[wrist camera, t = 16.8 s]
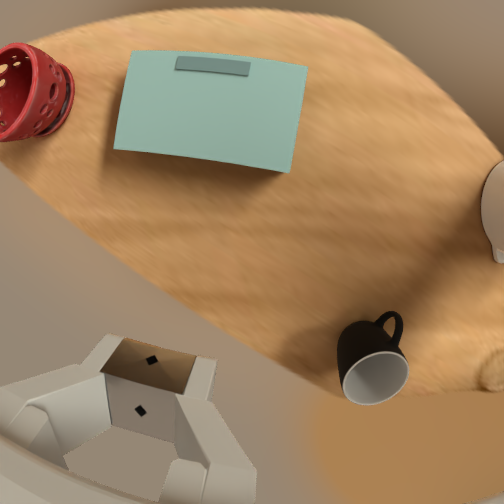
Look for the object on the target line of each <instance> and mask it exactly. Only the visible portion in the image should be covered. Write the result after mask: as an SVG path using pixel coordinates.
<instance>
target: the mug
mask: <svg viewBox="0 0 504 504" xmlns="http://www.w3.org/2000/svg"><path fill="white" fill-rule="evenodd" d="M391 317H394V318H395V331H394V334H393V336H392V338H391V337H390V336H389V335H388V333H387V332H386V331H385V330H384V329H383V325H384V323H385V322H386V321H387V320H388V319H389V318H391ZM402 332H403V321H402V318H401V316H400V315H399V314H398V313H397V312H395V311H388V312H386V313H384V314H383V315H381V316H380V317H379V318H378V319H377V320H376V321H375V322H369V321H359V322H355V323H353V324H351V325H350V326H348V327H347V328H346V329H345V330H344V331H343V333H342V334H341V336H340V338H339V341H338V347H337V361H338V370H339V377H340V382H341V386H342V390H343V393H344V394H345V396H346V397H347V399H348V400H350V401H351V402H353V403H356V404H359V405H375V404H379V403H382V402H384V401H386V400H388V399H390V398H392V397H393V396H394V395H396V394H397V393H398V392H399V391H400V390H401V389H402V388H403V386H404V385H405V383H406V381H407V379H408V376H409V365H408V362H407V360H406V358H405V356H404V354H403V353H402V351H401V350H400V348H399V347H398V345H399V342H400V339H401V336H402Z"/></svg>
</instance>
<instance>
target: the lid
mask: <svg viewBox="0 0 504 504" xmlns="http://www.w3.org/2000/svg"><path fill="white" fill-rule="evenodd" d="M307 71H308V67H307V66H302V65H297V64H292V63H286V62H280V61H274V60H268V59H261V58H254V57H246V56H238V55H229V54H218V53H206V52H190V51H152V50H150V51H132V53H131V58H130V62H129V66H128V70H127V75H126V80H125V84H124V89H123V94H122V99H121V105H120V110H119V116H118V122H117V128H116V134H115V141H114V148H113V149H120V150H131V151H141V152H151V153H160V154H169V155H177V156H185V157H192V158H200V159H207V160H214V161H220V162H227V163H233V164H240V165H246V166H252V167H257V168H263V169H269V170H274V171H280V172H285V173H290V168H291V163H292V157H293V152H294V146H295V141H296V135H297V129H298V124H299V118H300V112H301V107H302V101H303V95H304V89H305V83H306V77H307Z"/></svg>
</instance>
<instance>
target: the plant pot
mask: <svg viewBox="0 0 504 504" xmlns="http://www.w3.org/2000/svg"><path fill="white" fill-rule="evenodd" d="M13 56H16V57H13ZM25 57H29V58H25ZM16 62H21V63H20V64H19V65H17V66H14V65H13V64H14V63H16ZM3 64H7V65H8V67H7V69H6V70H5V71H4V72H2V73H0V81H1V80H2V79H5V83H4V85H3V86H1V87H0V111H1V115H0V142H9V141H16V140H22V139H26V138H29V137H43V136H46V135H49V134H50V133H52V132H54V131H55V130H56V129H57V128H58V127H59V126H60V125H61V124H62V123H63V122H64V120H65V119H66V117H67V116H68V114H69V112H70V110H71V107H72V104H73V100H74V93H75V86H74V80H73V76H72V74H71V72H70V71H69V69H68V68H67V67H66V66H64V65H63V64H61V63H57V62H56V61H55V60H54V59H53V58H52V57H50V56H49V55H48V54H46V53H45V52H43V51H42V50H40V49H38V48H36V47H33V46H31V45H28V44H24V43H12V44H9V45H7V46H5V47H3V48H2V49H0V65H3ZM1 123H4V125H5V126H2V125H1Z"/></svg>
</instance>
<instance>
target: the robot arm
mask: <svg viewBox="0 0 504 504" xmlns="http://www.w3.org/2000/svg"><path fill="white" fill-rule="evenodd" d="M481 216H482V223H483V227H484V230H485V232H486V235H487V237H488V238H489V240H490V242H491V244H492V249H493V256H494V260H495V261H496V262H498V263H504V161H502V162H500V163H499V164H498V165H497V166H495V168H494V169H493V170H492V171H491V173H490V175H489V176H488V178H487V181H486V183H485V186H484V189H483V194H482V200H481ZM216 368H217V359H216V358H211V357H205V356H199V355H198V356H196V355H191V354H186V353H182V352H177V351H173V350H169V349H164V348H161V347H158V346H153V345H150V344H147V343H143V342H139V341H136V340H133V339H129V338H125V337H122V336H118V335H115V334H112V333H108V334H106V335H105V336H104V337H103V338H102V339H101V340H100V342H99V343H98V344H97V345H96V346H95V347H94V349H93V350H92V351H91V352H90V353H89V355H88V356H87V357H86V358H85V360H84V361H83V362H82V363H81V365H78V364H72V365H69V366H66V367H63V368H60V369H57V370H54V371H51V372H48V373H44V374H41V375H38V376H35V377H32V378H28V379H25V380H22V381H18V382H15V383H11V384H8V385H5V386H1V387H0V504H255V492H256V479H257V478H256V477H257V471H256V469H255V468H254V466H253V465H252V463H251V462H250V460H249V459H248V457H247V456H246V454H245V453H244V451H243V450H242V448H241V447H240V445H239V444H238V442H237V440H236V439H235V437H234V436H233V434H232V433H231V431H230V430H229V428H228V426H227V425H226V423H225V421H224V420H223V418H222V417H221V415H220V413H219V412H218V410H217V408H216V407H215V405H214V403H213V402H211V400H212V395H213V388H214V381H215V375H216ZM111 425H114V426H117V427H120V428H123V429H127V430H130V431H134V432H137V433H141V434H144V435H148V436H151V437H154V438H158V439H161V440H164V441H169V442H172V443H174V446H175V448H176V451H177V454H178V456H179V459H177V460H174V461H172V462H171V465H170V468H169V471H168V474H167V477H166V480H165V483H164V486H163V489H162V492H161V495H160V498H159V502H155V501H151V500H148V499H144V498H141V497H138V496H134V495H131V494H128V493H125V492H122V491H119V490H116V489H113V488H110V487H108V486H105V485H102V484H100V483H97V482H95V481H92V480H89V479H87V478H84V477H82V476H80V475H77V474H75V473H73V472H70V471H69V469H68V467H67V465H66V463H65V460H64V458H63V455H65V454H67V453H68V452H70V451H71V450H73V449H75V448H77V447H79V446H80V445H82V444H84V443H85V442H87V441H89V440H91V439H92V438H94V437H96V436H97V435H99V434H100V433H102V432H104V431H105V430H107V429H109V428H110V427H112V426H111ZM464 504H504V491H502V492H499V493H497V494H494V495H491V496H488V497H484V498H482V499H478V500H475V501H471V502H468V503H464Z"/></svg>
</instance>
